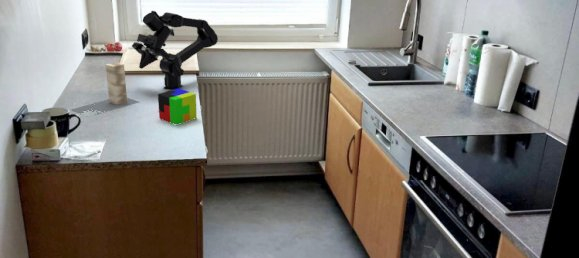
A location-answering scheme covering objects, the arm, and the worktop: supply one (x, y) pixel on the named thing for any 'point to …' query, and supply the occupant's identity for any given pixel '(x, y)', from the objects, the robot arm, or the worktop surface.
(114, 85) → the birch block
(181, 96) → the puzzle toy
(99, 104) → the slate mat
